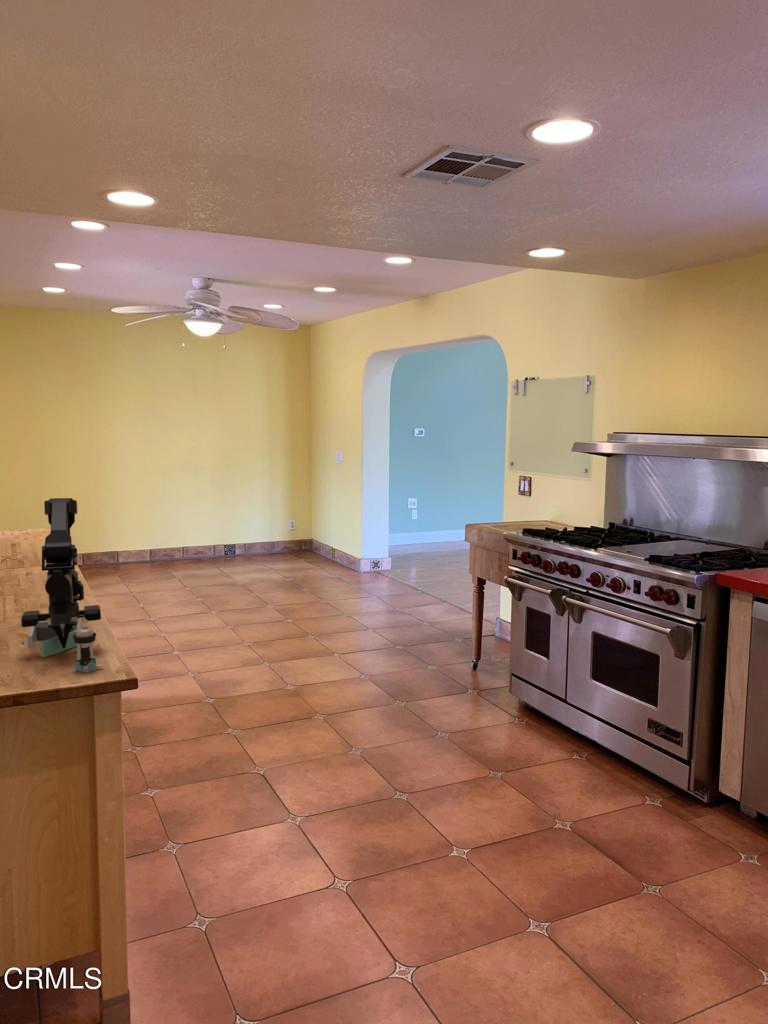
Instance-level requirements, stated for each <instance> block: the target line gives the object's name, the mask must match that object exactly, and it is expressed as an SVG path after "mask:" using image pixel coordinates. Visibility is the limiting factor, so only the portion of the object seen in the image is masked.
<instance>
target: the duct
mask: <svg viewBox="0 0 768 1024" xmlns="http://www.w3.org/2000/svg"><path fill="white" fill-rule="evenodd" d="M44 622H47V621H38V624H37V625H36V626H31V627H29V628H30V629H29V631H28V634H27V645H28V646H27V647H28V648H33V646H34V642H35V639H36V627H37V626H39V625H41V624H42V623H44ZM82 622H83V621H82V617H81V618H78V619H77V625H73V631H76V630H79V629H89V626H83V624H82Z"/></svg>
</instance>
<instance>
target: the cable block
mask: <svg viewBox="0 0 768 1024" xmlns="http://www.w3.org/2000/svg"><path fill="white" fill-rule="evenodd" d="M47 625H48V622H44V623H42V624H41V625H39V626H37V627H36V636H35V639H36V641H38V642H41V641H44V640H47V639H51V638H54V637H57V634H56V632H55V631H54V630H53V629H52V628H48V627H47ZM61 625H62V630H63V634H64V627H65V623H63V624H61ZM73 631H74V630H73V626H72V628H71V630H70V632H73Z"/></svg>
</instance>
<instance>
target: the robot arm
mask: <svg viewBox="0 0 768 1024" xmlns="http://www.w3.org/2000/svg"><path fill="white" fill-rule="evenodd" d="M43 504H44V505H43V506H44V515H45V516H47V521H48V524H49V525H50V533H49V534H48V535H46V536H45V538H44V545H42V546H41V572H43V571H44V572H45V571H47V572H46V576H47V578H46V580H45V585H44V589H45V592H46V593H47V595H48V607H47V608H48V613H46V612H45V613H40V610H39V609H38V610H26V611H23V613H22V615H21V618H20V621H21V627H22V628H31V626H36V625H37V624H38V621H47V622H48V625H47V627H48V628H52V629H53V630H54V631H55V632H56V634H57V636H58V638H59V640H60V643H61V645H62V647H63V649H64V648H65V647H66V643H67V639H68V636H69V633H70V630H71V628H72V626H73V625H77V619H78V618H81V619H82V618H84V620H86V621H87V622H91V621H100V620H102V614H101V612H102V611H101V606H100V605H99V604H94V605H93V604H92V605H84V608H83V609H80V603H79V602H81V601H83V600H85V592H84V589H85V588H84V587H85V586H84V584H82V581H81V580H79V573H78V572H77V571H76V566H78V549H77V547H76V545H75V544H72V543H73V542H72V536H71V528H72V527H73V525H74V524H75V522H76V515H77V514H78V501H77V500H76V499H73V497H65V498H64V497H60V498H59V497H58V498H57V497H56V498H55V497H54V498H53V497H52V498H49V500H44V503H43ZM78 601H79V602H78ZM63 623H65V627H64V636H63V630H62V625H61V624H63Z"/></svg>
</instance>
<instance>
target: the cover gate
mask: <svg viewBox="0 0 768 1024" xmlns="http://www.w3.org/2000/svg"><path fill="white" fill-rule="evenodd" d="M79 630H81V629H79ZM77 631H78V630H73V632H70V633H69V636H68V639H67V643H66V647H65V648H64V649H63V647H62V645H61V643H60V640H59V638H58V636H57V637H54V638H51V639H47V640H44V641H40V656H41V658H45V657H48V656H51V655H54V654H57V653H60V652H64V651H66V650H69V649H72V648H76V647H77V643H75V642H74V638H73V635H74V634H77ZM63 636H64V634H63Z"/></svg>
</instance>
